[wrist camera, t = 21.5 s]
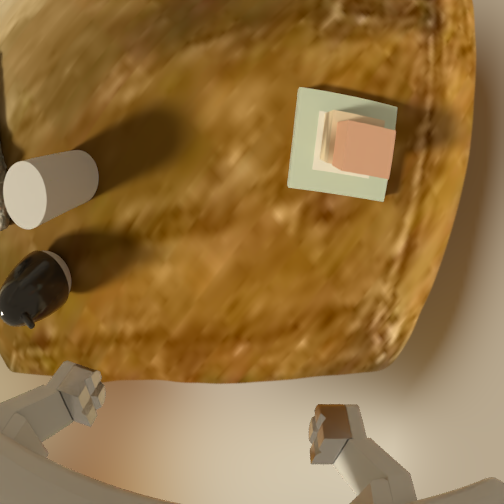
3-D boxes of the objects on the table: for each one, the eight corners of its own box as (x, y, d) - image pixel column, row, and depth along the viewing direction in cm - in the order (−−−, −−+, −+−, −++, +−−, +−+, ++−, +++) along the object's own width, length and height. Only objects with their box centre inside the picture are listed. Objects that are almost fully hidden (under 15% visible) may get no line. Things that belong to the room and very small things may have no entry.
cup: (74, 138, 36) (18, 147, 25) (108, 174, 38) (56, 192, 27) (49, 180, 39) (-4, 199, 28) (80, 214, 41) (31, 242, 30)
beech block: (325, 113, 32) (333, 109, 27) (370, 121, 32) (385, 120, 27) (319, 158, 34) (327, 163, 29) (364, 166, 34) (378, 172, 29)
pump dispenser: (81, 305, 47) (34, 358, 33) (38, 286, 46) (-13, 329, 32) (81, 252, 43) (23, 299, 29) (35, 235, 43) (-25, 273, 28)
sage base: (297, 90, 33) (299, 86, 31) (390, 108, 33) (397, 107, 31) (287, 184, 38) (288, 187, 35) (377, 197, 37) (383, 201, 35)
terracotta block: (337, 121, 28) (348, 120, 23) (379, 130, 27) (396, 130, 23) (331, 165, 29) (341, 170, 25) (373, 172, 29) (388, 179, 25)
